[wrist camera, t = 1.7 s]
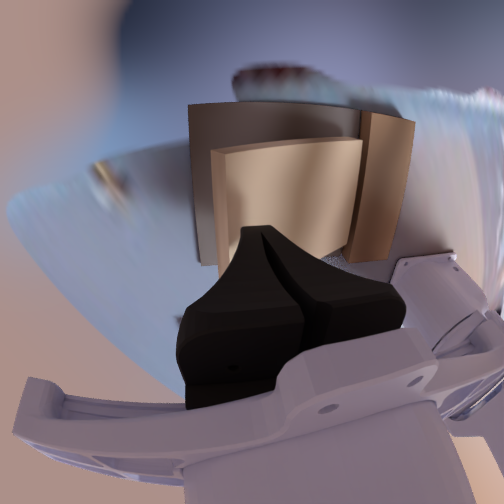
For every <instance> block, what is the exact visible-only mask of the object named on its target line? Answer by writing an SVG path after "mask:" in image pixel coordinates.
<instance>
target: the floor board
mask: <svg viewBox="0 0 504 504" xmlns="http://www.w3.org/2000/svg"><path fill="white" fill-rule="evenodd" d="M359 120H360V110H355V109H348V108H341V107H333V106H323V105H313V104H300V103H281V102H224V103H206V104H192V105H188V121H189V140H190V156H191V170H192V183H193V194H194V205H195V216H196V225H197V235H198V244H199V252H200V260H201V266H210V265H218V260H217V248H216V235H215V221H214V205H213V189H212V170H211V150H214V149H220V148H227V147H233V146H240V145H247V144H255V143H264V142H273V141H283V140H294V139H307V138H324V137H352V138H356V139H358V132H359ZM414 131H415V122H414V121H411V120H407V119H403V118H399V117H394V116H389V115H384V114H379V113H374V112H368V111H362V110H361V120H360V132H359V139H360V140H363V142H362V151H361V160H360V168H359V175H358V182H357V189H356V196H355V202H354V208H353V214H352V219H351V225H350V230H349V235H348V240H347V244H346V245H344V246H343V248H342V247H340V248H339V249H337V250H335V251H333V252H331V253H329V254H328V255H326V256H324V257H329V256H340V254H342V255H343V257H344V258H345V259H346V261H347V262H348V263H358V262H368V261H378V260H387V258H388V255H389V252H390V248H391V245H392V241H393V237H394V234H395V230H396V226H397V222H398V218H399V214H400V210H401V205H402V201H403V196H404V192H405V187H406V182H407V176H408V171H409V165H410V159H411V153H412V146H413V139H414ZM341 249H342V253H341Z"/></svg>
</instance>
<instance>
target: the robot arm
mask: <svg viewBox="0 0 504 504" xmlns="http://www.w3.org/2000/svg"><path fill="white" fill-rule="evenodd" d="M456 257H457V254H456V253H455V252H453V253H445V254H436V255H428V256H419V257H410V258H402V259H399V260H398V262H397V264H396V267H395V270H394V273H393V276H392V279H391V282H390V284H388V283H383V282H379V281H374V280H370V279H366V278H363V277H360V276H357V275H354V274H351V273H348V272H345V271H343V270H341V269H338V268H336V267H333V266H331V265H329V264H327V263H325V262H323V261H321V260H320V259H318V258H316V257H314V256H312V255H311V254H309V253H308V252H306V251H305V250H303V249H301V248H300V247H299V246H297V245H296V244H294V243H293V242H292V241H290V240H289V239H288V238H287V237H285V236H284V235H283V234H282V233H280V232H279V231H278V230H277V229H275V228H274V227H273V226H271V225H258V226H243V227H242V228H241V229H240V240H239V243H238V246H237V249H236V252H235V254H234V256H233V258H232V260H231V262H230V264H229V265H228V267H227V269H226V270H225V272H224V273H223V274H222V276H221V277H220V278H219V280H218V281H217V282H216V283H215V284H214V286H213V287H212V288H211V289H210V290H209V291H208V292H207V293H205V294H204V295H203V296H202V297H201V298H200V299H198V300H197V301H195V302H194V303H193V304H191V305H190V306H188V307H187V308H186V311H185V313H184V316H183V318H182V321H181V324H180V328H179V332H178V336H177V344H176V360H177V364H178V366H179V369H180V372H181V374H182V377H183V380H184V382H185V403H169V404H168V403H138V402H123V401H111V400H101V399H94V398H86V397H79V396H73V395H67V394H65V393H64V392H63V391H62V389H61V388H60V387H59V386H57V385H56V384H55V383H53V382H51V381H48V380H43V379H38V378H33V377H28V379H27V382H26V385H25V388H24V391H23V394H22V397H21V400H20V404H19V407H18V411H17V414H16V418H15V422H14V426H13V431H12V433H13V435H14V436H16V437H17V438H19V439H20V440H22V441H23V442H25V443H26V444H28V445H29V446H31V447H32V448H34V449H35V450H37V451H39V452H40V453H42V454H44V455H45V456H47V457H49V458H51V459H52V460H55V461H58V462H62V463H65V464H68V465H71V466H74V467H78V468H81V469H85V470H89V471H92V472H96V473H100V474H105V475H108V476H113V477H117V478H123V479H127V480H133V481H139V482H145V483H151V484H159V485H168V486H179V487H184V493H185V504H476V501H475V498H474V495H473V492H472V490H471V487H470V484H469V481H468V478H467V476H466V473H465V470H464V468H463V465H462V463H461V460H460V458H459V456H458V453H457V451H456V448H455V446H454V444H453V442H452V439H451V437H450V435H449V433H451V434H452V436H454V437H476V436H480V437H484V439H485V441H486V443H487V444H488V446H489V448H490V450H491V452H492V454H493V456H494V458H495V460H496V462H497V464H498V466H499V468H500V470H501V473H502V475H503V477H504V380H503V381H502V382H501V383H500V384H499V385H498V386H497V387H496V388H495V389H494V390H493V391H492V392H491V393H490V394H488V395H487V396H486V397H485V398H484V399H483V400H481V401H480V402H479V403H478V404H477V405H475V406H474V407H472V408H470V407H471V406H472V405H474V404H475V403H476V402H477V401H478V400H480V399H481V398H482V397H483V396H484V395H485V394H487V393H488V392H489V391H490V390H491V389H492V388H493V387H494V386H495V385H496V384H497V383H498V382H499V381H500V380H501V379H503V377H504V321H503V319H502V318H501V317H500V316H499V314H498V313H497V312H496V311H495V310H491V311H490V310H489V308H488V302H487V298H486V296H485V294H484V292H483V291H482V289H481V288H480V287H479V286H478V285H477V284H476V283H475V282H474V281H473V280H472V279H471V277H470V276H469V275H468V274H467V273H466V272H465V271H464V270H463V269H462V268H461V267H460V266H459V265H458V264H457V263H456V262H455V260H456ZM402 324H403V326H404V327H405V328H400V327H401V325H402ZM448 432H449V433H448Z"/></svg>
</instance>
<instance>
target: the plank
mask: <svg viewBox="0 0 504 504" xmlns="http://www.w3.org/2000/svg"><path fill="white" fill-rule="evenodd" d="M362 142H363V140H360V139H356V138H352V137H324V138H307V139H294V140H283V141H273V142H264V143H255V144H247V145H240V146H233V147H227V148H220V149H214V150H211V170H212V189H213V205H214V221H215V235H216V248H217V260H218V272H219V278H220V277H221V276H222V274H223V273H224V272H225V270H226V269H227V267H228V265H229V264H230V262H231V260H232V258H233V256H234V254H235V252H236V249H237V246H238V243H239V240H240V229H241V228H242V227H243V226H258V225H271V226H273V227H274V228H275V229H277V230H278V231H279V232H280V233H282V234H283V235H284V236H285V237H287V238H288V239H289V240H290V241H292V242H293V243H294V244H296V245H297V246H299V247H300V248H301V249H303V250H305V251H306V252H308V253H309V254H311V255H312V256H314V257H316V258H318V259H320V258H322V257H324V256H326V255H328V254H329V253H331V252H333V251H335V250H337V249H339V248H340V247H342V246H344V245H346V244H347V240H348V235H349V230H350V225H351V219H352V214H353V208H354V202H355V196H356V189H357V182H358V175H359V168H360V160H361V151H362Z"/></svg>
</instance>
